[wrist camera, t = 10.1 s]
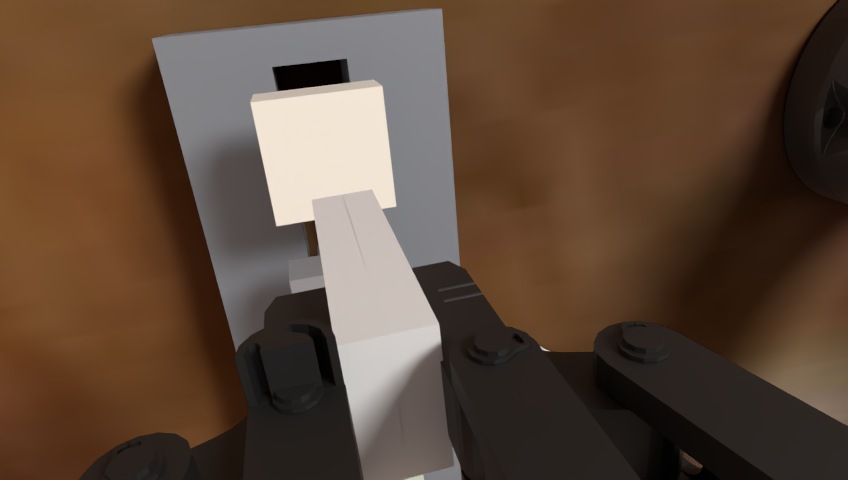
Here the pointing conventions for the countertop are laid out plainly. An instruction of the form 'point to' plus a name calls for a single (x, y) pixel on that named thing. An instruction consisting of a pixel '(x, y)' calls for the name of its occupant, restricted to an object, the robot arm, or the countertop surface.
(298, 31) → the key strip
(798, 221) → the countertop surface
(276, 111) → the key
